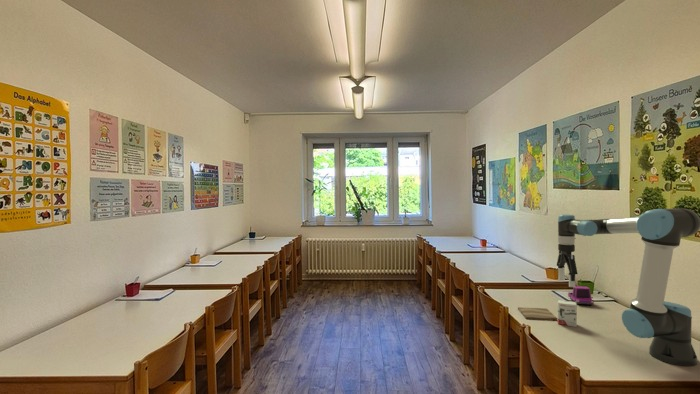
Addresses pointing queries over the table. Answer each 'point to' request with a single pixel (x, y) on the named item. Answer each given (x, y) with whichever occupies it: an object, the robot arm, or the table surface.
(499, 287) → the table surface
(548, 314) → the walnut board
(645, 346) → the table surface
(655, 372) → the table surface
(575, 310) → the ink box
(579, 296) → the toy truck
